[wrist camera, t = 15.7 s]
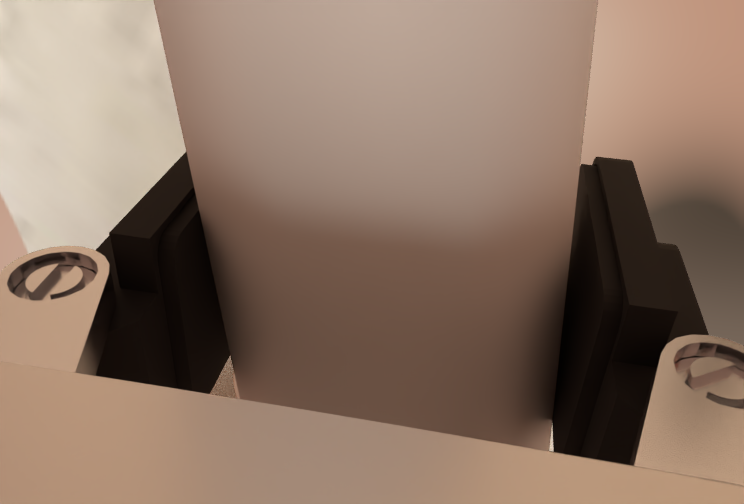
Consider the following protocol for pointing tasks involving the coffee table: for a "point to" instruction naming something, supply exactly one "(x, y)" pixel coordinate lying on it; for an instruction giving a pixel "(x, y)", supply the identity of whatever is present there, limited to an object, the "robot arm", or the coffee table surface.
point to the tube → (389, 199)
